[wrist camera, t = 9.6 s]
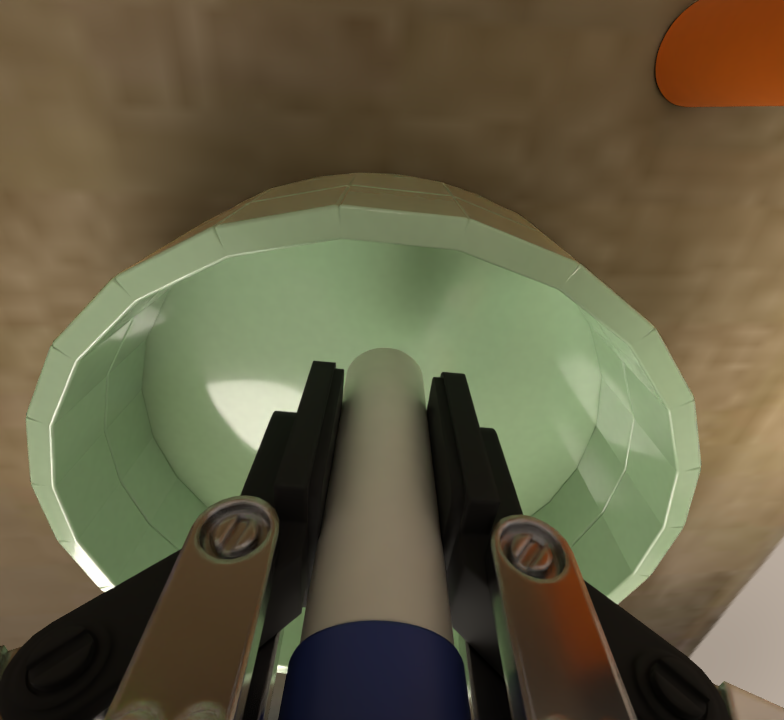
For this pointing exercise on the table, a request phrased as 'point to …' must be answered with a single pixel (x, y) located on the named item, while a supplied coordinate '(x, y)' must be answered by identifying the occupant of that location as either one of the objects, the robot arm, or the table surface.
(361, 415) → the white marker
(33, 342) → the table surface
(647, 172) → the table surface
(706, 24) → the orange marker
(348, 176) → the bowl
